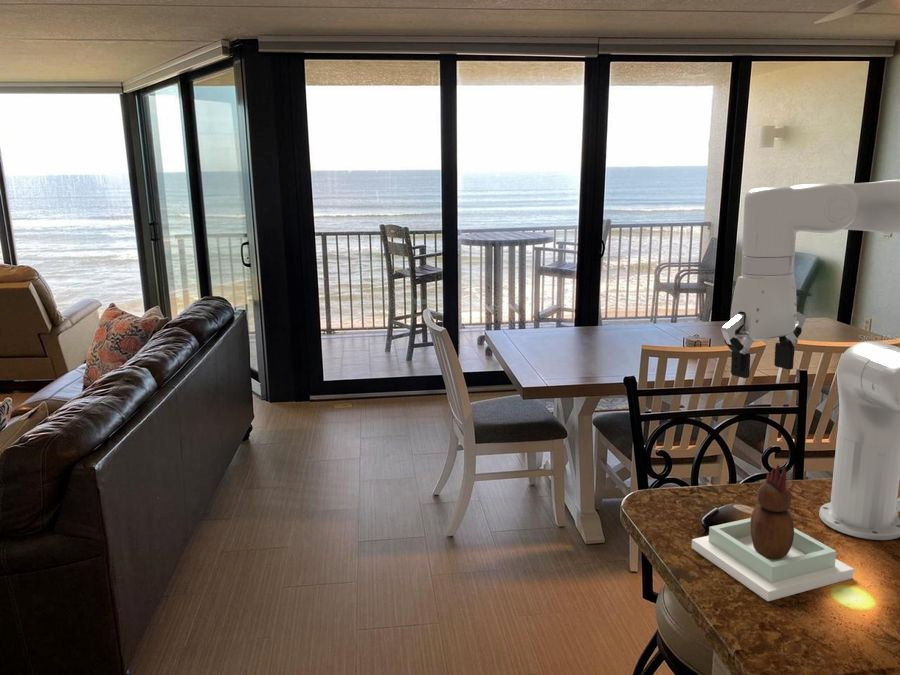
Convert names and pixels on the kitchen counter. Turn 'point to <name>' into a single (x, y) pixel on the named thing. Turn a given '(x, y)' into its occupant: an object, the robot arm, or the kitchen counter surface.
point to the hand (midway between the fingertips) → (762, 372)
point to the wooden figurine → (773, 517)
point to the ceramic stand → (771, 561)
